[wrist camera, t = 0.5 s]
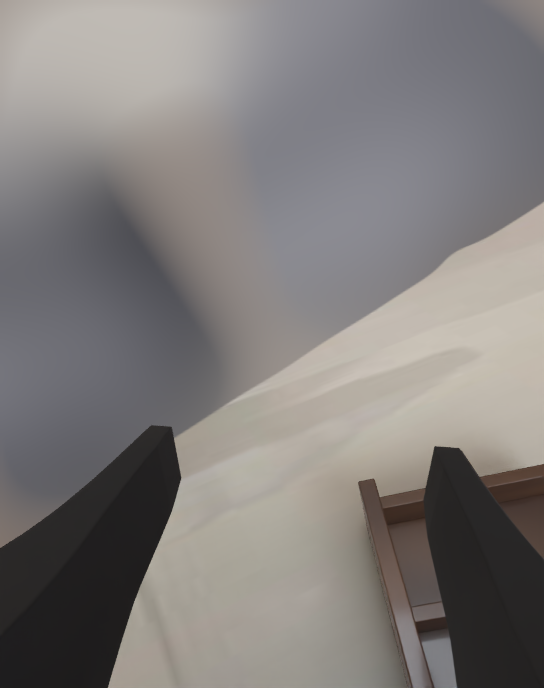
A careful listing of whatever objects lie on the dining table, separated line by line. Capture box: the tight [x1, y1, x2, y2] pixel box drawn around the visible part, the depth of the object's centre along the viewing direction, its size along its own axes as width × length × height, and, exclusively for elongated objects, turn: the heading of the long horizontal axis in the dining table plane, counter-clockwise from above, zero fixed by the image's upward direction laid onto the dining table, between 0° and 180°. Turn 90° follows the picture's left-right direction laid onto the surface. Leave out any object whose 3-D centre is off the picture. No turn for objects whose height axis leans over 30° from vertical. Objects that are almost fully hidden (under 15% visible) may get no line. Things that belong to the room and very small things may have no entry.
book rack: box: [358, 464, 544, 688], centre depth 20 cm, size 18×11×6 cm, turn 6°
